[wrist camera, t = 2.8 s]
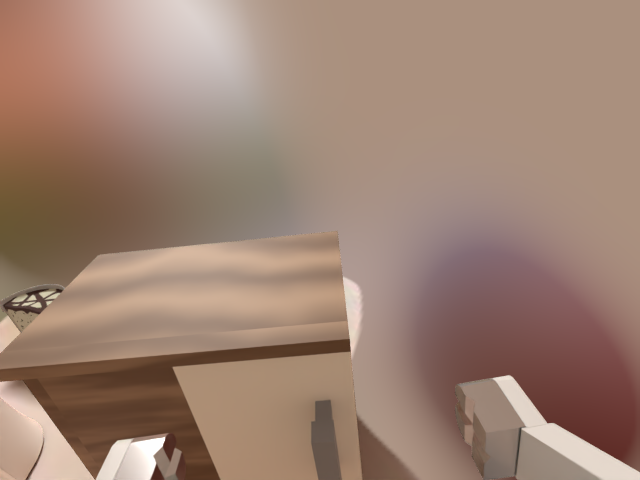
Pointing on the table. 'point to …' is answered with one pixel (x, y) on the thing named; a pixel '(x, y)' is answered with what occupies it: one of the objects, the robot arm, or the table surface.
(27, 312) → the food container
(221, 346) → the cabinet
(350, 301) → the table surface
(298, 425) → the sliding door
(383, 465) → the table surface
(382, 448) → the table surface
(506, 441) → the robot arm
